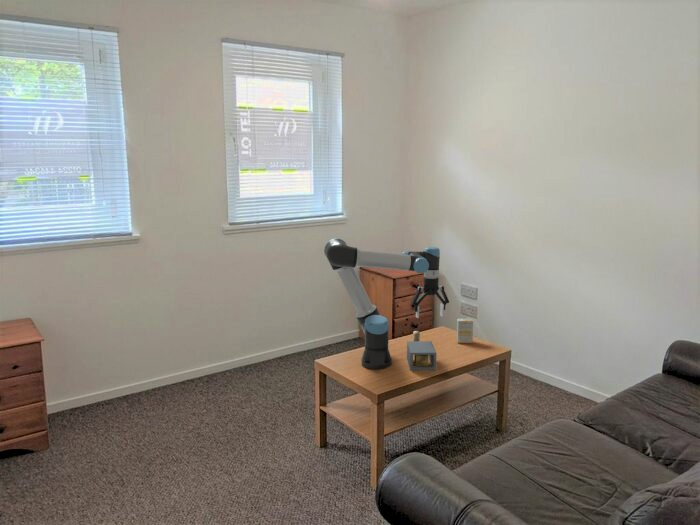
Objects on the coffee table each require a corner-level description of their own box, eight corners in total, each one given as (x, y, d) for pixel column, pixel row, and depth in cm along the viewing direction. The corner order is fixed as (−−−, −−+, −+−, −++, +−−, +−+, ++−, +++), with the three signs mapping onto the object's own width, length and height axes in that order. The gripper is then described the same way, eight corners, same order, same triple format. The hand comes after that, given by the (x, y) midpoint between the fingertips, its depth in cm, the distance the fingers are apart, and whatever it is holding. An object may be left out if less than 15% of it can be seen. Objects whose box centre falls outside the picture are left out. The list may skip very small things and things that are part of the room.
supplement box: (471, 340, 306) (472, 318, 303) (472, 343, 301) (473, 320, 298) (456, 340, 307) (457, 317, 304) (457, 343, 302) (458, 320, 299)
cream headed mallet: (415, 367, 269) (416, 347, 267) (410, 348, 294) (410, 331, 292) (428, 367, 269) (428, 347, 267) (421, 348, 294) (421, 330, 292)
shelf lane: (410, 370, 266) (410, 352, 264) (406, 358, 281) (407, 341, 279) (436, 370, 266) (436, 352, 264) (431, 357, 281) (431, 341, 279)
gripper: (410, 279, 277) (409, 320, 281) (456, 277, 282) (454, 317, 287) (405, 276, 284) (404, 316, 288) (450, 274, 290) (448, 313, 294)
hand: (429, 316), depth 287 cm, fingers open, 13 cm apart
